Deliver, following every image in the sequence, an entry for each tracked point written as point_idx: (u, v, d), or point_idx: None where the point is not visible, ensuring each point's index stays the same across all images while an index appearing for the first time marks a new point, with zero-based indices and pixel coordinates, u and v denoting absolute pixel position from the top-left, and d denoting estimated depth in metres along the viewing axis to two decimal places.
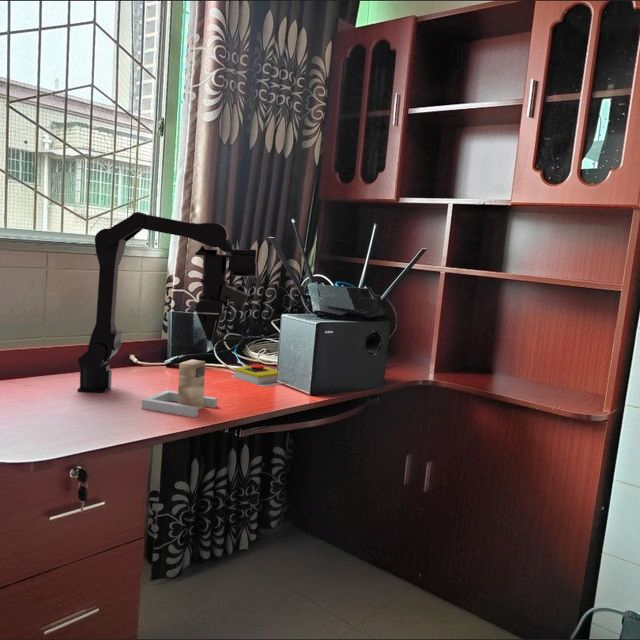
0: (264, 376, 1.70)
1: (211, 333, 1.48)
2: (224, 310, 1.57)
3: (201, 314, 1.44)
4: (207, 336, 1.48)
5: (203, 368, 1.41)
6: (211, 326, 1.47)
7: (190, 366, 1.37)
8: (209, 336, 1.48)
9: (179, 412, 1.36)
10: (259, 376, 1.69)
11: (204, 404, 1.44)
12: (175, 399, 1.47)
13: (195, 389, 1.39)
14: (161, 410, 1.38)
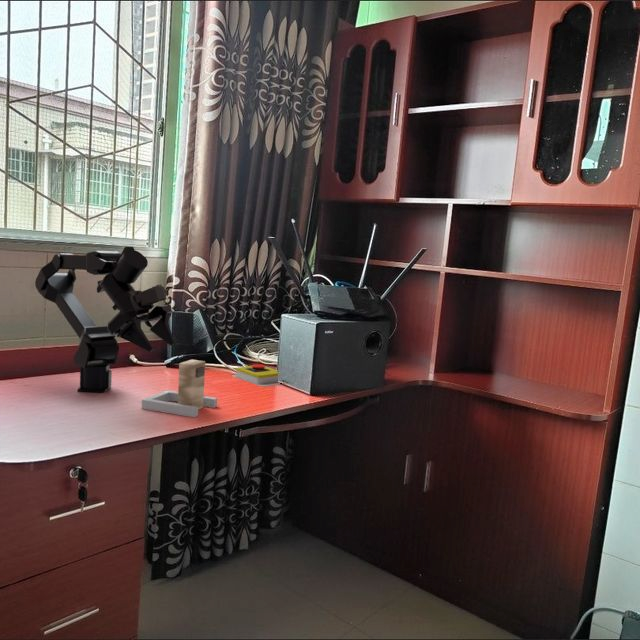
0: (264, 376, 1.70)
1: (145, 343, 1.37)
2: (165, 317, 1.47)
3: (119, 333, 1.36)
4: (145, 348, 1.38)
5: (203, 368, 1.41)
6: (139, 337, 1.37)
7: (190, 366, 1.37)
8: (147, 346, 1.38)
9: (179, 412, 1.36)
10: (259, 376, 1.69)
11: (204, 404, 1.44)
12: (175, 399, 1.47)
13: (195, 389, 1.39)
14: (161, 410, 1.38)
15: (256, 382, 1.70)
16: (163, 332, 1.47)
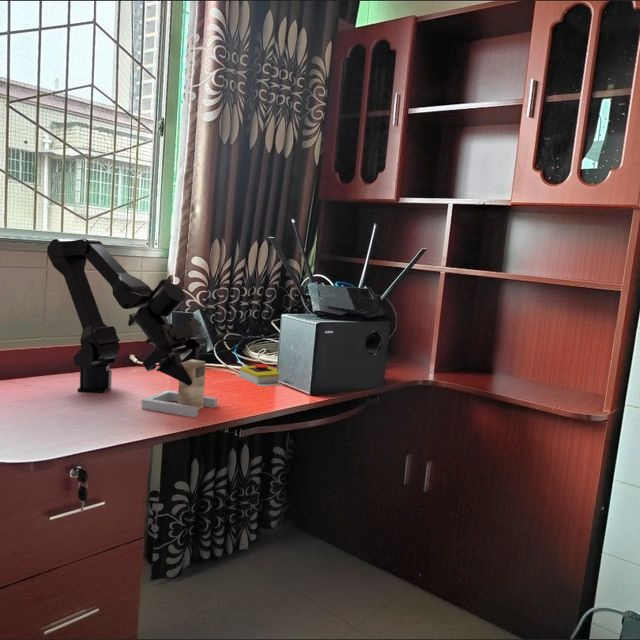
0: (264, 376, 1.70)
1: (185, 377, 1.37)
2: (195, 351, 1.43)
3: (159, 368, 1.36)
4: (185, 382, 1.37)
5: (203, 368, 1.41)
6: (179, 371, 1.37)
7: (190, 366, 1.37)
8: (187, 380, 1.37)
9: (179, 412, 1.36)
10: (258, 376, 1.69)
11: (204, 404, 1.44)
12: (175, 399, 1.47)
13: (195, 389, 1.39)
14: (161, 410, 1.38)
15: (256, 382, 1.70)
16: None
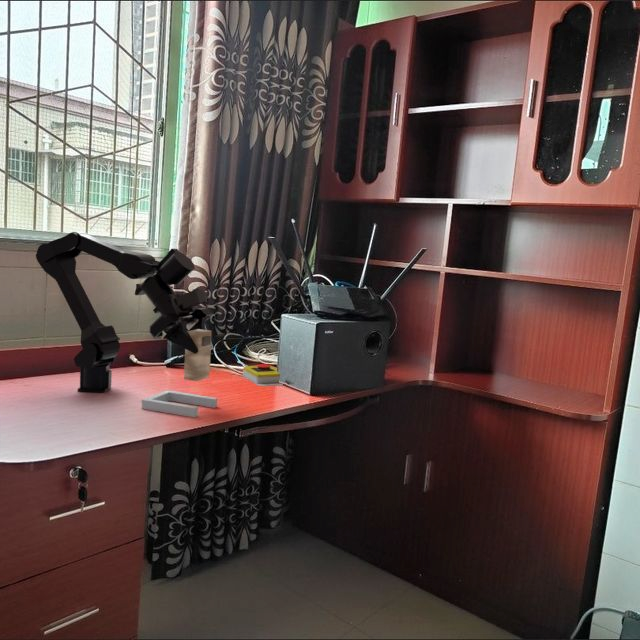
0: (264, 376, 1.70)
1: (191, 345, 1.38)
2: (201, 321, 1.45)
3: (166, 335, 1.37)
4: (191, 350, 1.39)
5: (210, 337, 1.42)
6: (185, 339, 1.38)
7: (196, 334, 1.39)
8: (193, 348, 1.39)
9: (179, 412, 1.36)
10: (258, 375, 1.70)
11: (204, 404, 1.44)
12: (175, 399, 1.47)
13: (201, 358, 1.40)
14: (161, 410, 1.38)
15: (256, 381, 1.70)
16: None
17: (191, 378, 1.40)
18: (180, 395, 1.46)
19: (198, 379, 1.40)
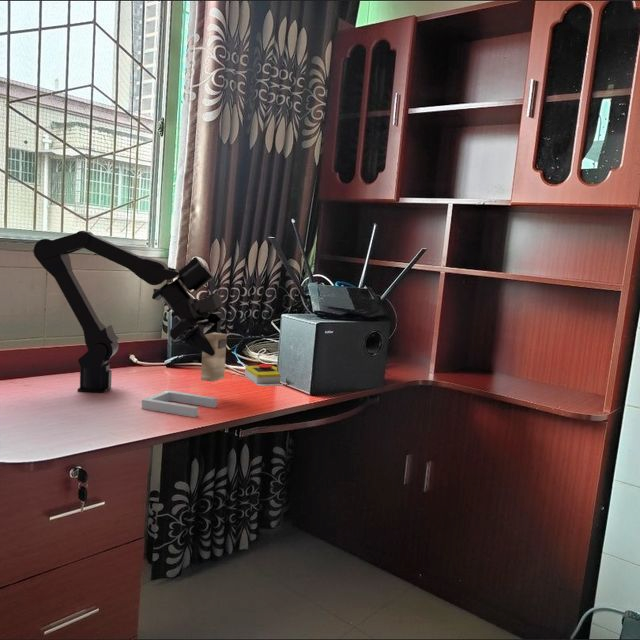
0: (264, 376, 1.70)
1: (208, 347, 1.46)
2: (216, 325, 1.53)
3: (184, 339, 1.45)
4: (208, 352, 1.46)
5: (225, 340, 1.50)
6: (203, 342, 1.46)
7: (213, 337, 1.46)
8: (210, 351, 1.46)
9: (179, 412, 1.36)
10: (258, 375, 1.70)
11: (204, 404, 1.44)
12: (175, 399, 1.47)
13: (217, 360, 1.48)
14: (161, 410, 1.38)
15: (256, 381, 1.70)
16: None
17: (208, 379, 1.48)
18: (180, 395, 1.46)
19: (214, 380, 1.48)
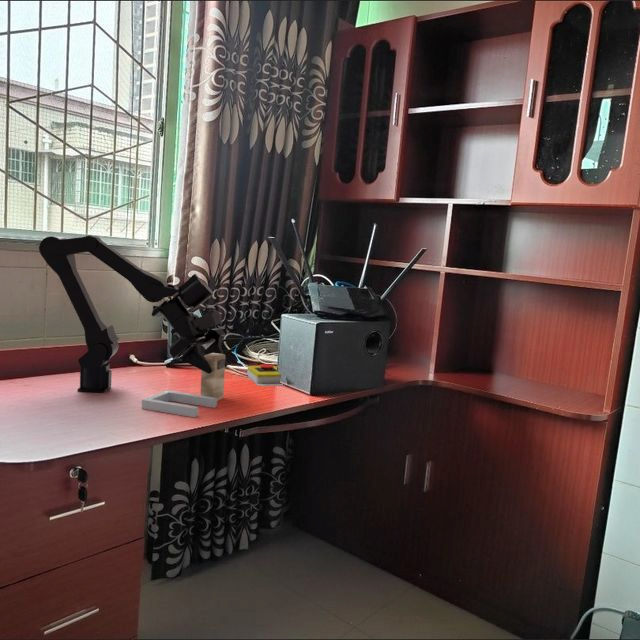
0: (264, 376, 1.70)
1: (205, 365, 1.46)
2: (218, 340, 1.54)
3: (181, 357, 1.44)
4: (205, 370, 1.46)
5: (224, 360, 1.50)
6: (200, 360, 1.45)
7: (212, 358, 1.47)
8: (207, 369, 1.46)
9: (179, 412, 1.36)
10: (258, 375, 1.70)
11: (204, 404, 1.44)
12: (175, 399, 1.47)
13: (216, 380, 1.49)
14: (161, 410, 1.38)
15: (256, 381, 1.71)
16: None
17: None
18: (180, 395, 1.46)
19: None
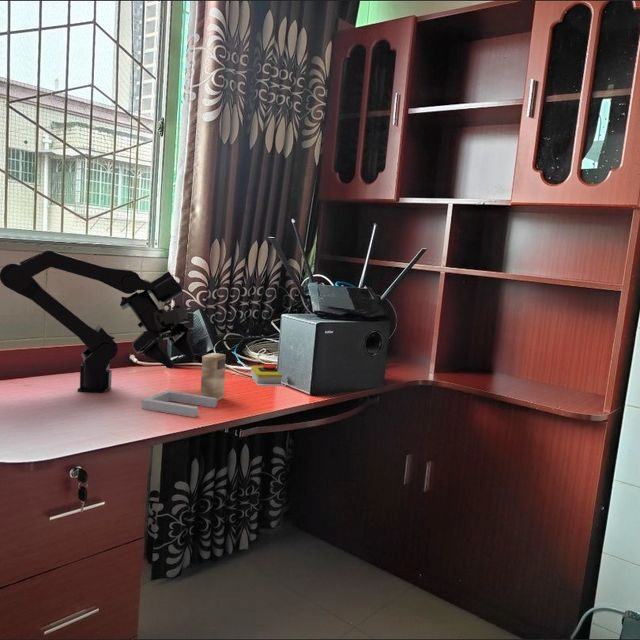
0: (264, 376, 1.70)
1: (167, 360, 1.48)
2: (186, 334, 1.57)
3: (143, 351, 1.47)
4: (167, 365, 1.49)
5: (224, 360, 1.50)
6: (162, 355, 1.48)
7: (212, 359, 1.47)
8: (169, 364, 1.48)
9: (179, 412, 1.36)
10: (258, 375, 1.70)
11: (204, 404, 1.44)
12: (175, 399, 1.47)
13: (216, 380, 1.49)
14: (161, 410, 1.38)
15: (256, 381, 1.71)
16: (184, 348, 1.58)
17: None
18: (180, 395, 1.46)
19: None
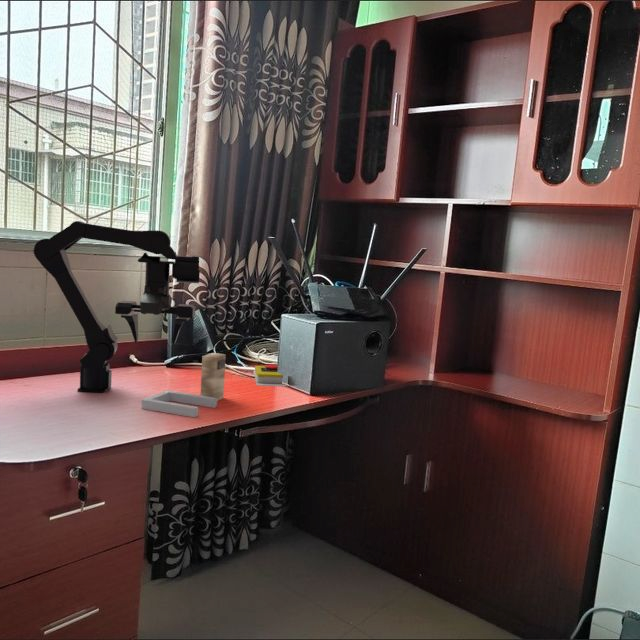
0: (264, 375, 1.71)
1: None
2: (175, 320, 1.52)
3: None
4: None
5: (224, 360, 1.50)
6: None
7: (212, 359, 1.47)
8: None
9: (179, 412, 1.36)
10: (258, 375, 1.71)
11: (204, 404, 1.44)
12: (175, 399, 1.47)
13: (216, 380, 1.49)
14: (161, 410, 1.38)
15: (256, 380, 1.71)
16: None
17: None
18: (180, 395, 1.46)
19: None
